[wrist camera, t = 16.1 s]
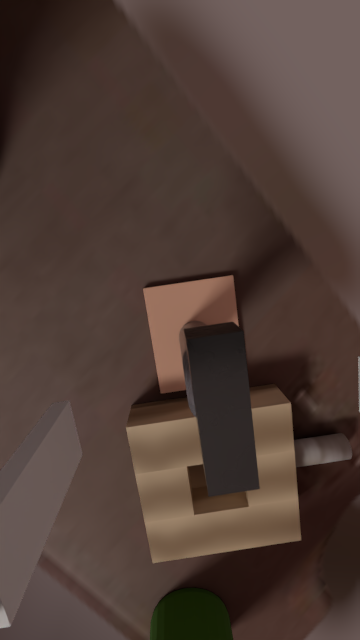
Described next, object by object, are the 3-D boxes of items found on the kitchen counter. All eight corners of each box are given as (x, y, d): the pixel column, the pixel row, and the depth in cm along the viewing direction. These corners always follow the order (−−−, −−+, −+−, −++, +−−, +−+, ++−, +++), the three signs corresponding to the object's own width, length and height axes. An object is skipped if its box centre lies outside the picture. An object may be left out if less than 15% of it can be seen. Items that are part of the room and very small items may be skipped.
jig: (131, 405, 29) (126, 427, 25) (335, 374, 29) (361, 392, 25) (154, 526, 32) (152, 563, 28) (340, 497, 32) (364, 530, 28)
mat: (143, 288, 27) (143, 288, 26) (231, 275, 27) (233, 275, 26) (160, 390, 29) (160, 393, 28) (242, 378, 29) (244, 381, 28)
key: (184, 378, 28) (202, 497, 14) (172, 298, 27) (179, 340, 12) (216, 373, 28) (266, 488, 14) (206, 293, 27) (250, 330, 12)
